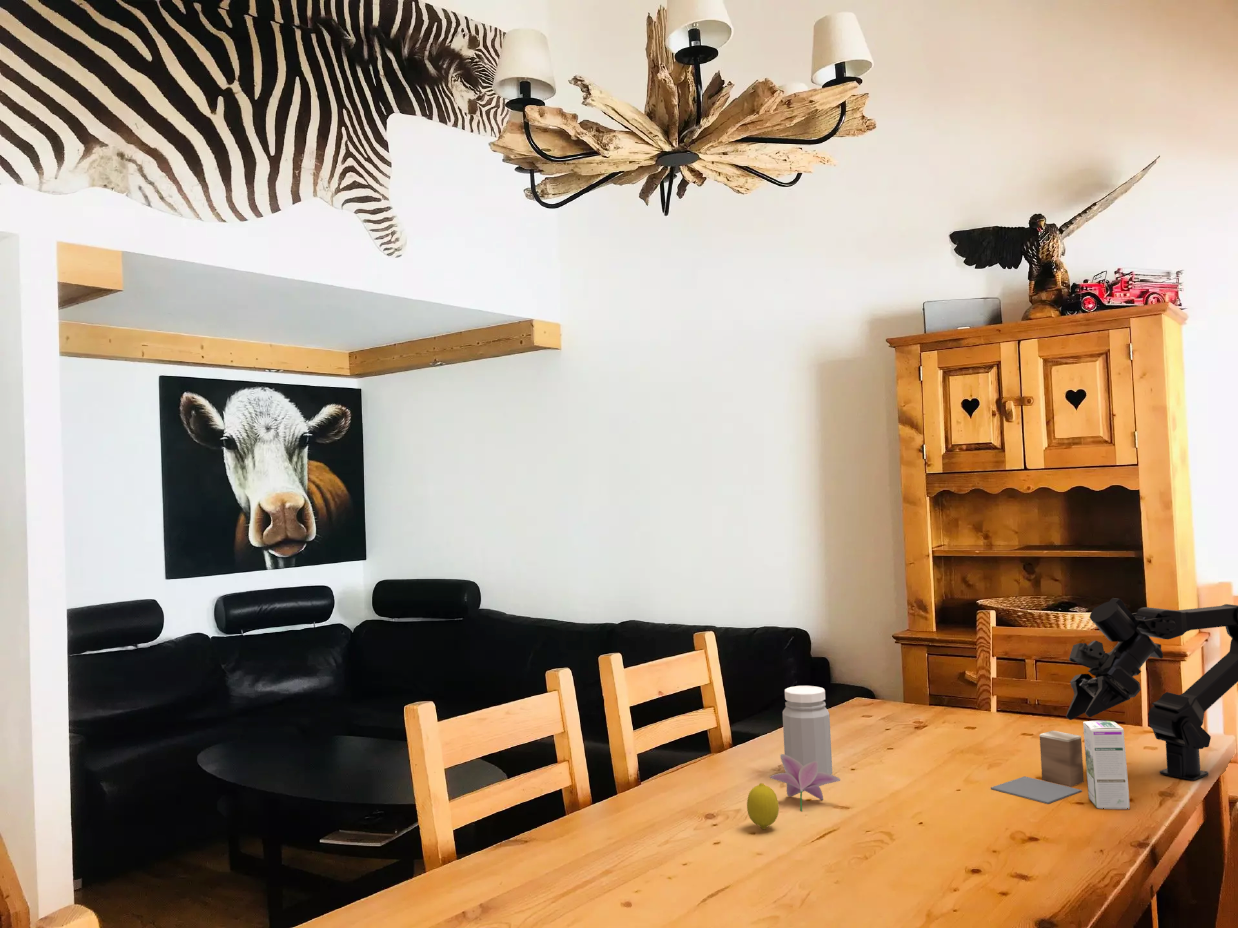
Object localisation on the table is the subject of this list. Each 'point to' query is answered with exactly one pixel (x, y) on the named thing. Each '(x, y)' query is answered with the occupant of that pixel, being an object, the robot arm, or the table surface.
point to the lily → (803, 778)
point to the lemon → (762, 805)
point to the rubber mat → (1036, 789)
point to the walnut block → (1061, 758)
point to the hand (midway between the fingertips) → (1077, 716)
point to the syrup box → (1106, 764)
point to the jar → (807, 727)
